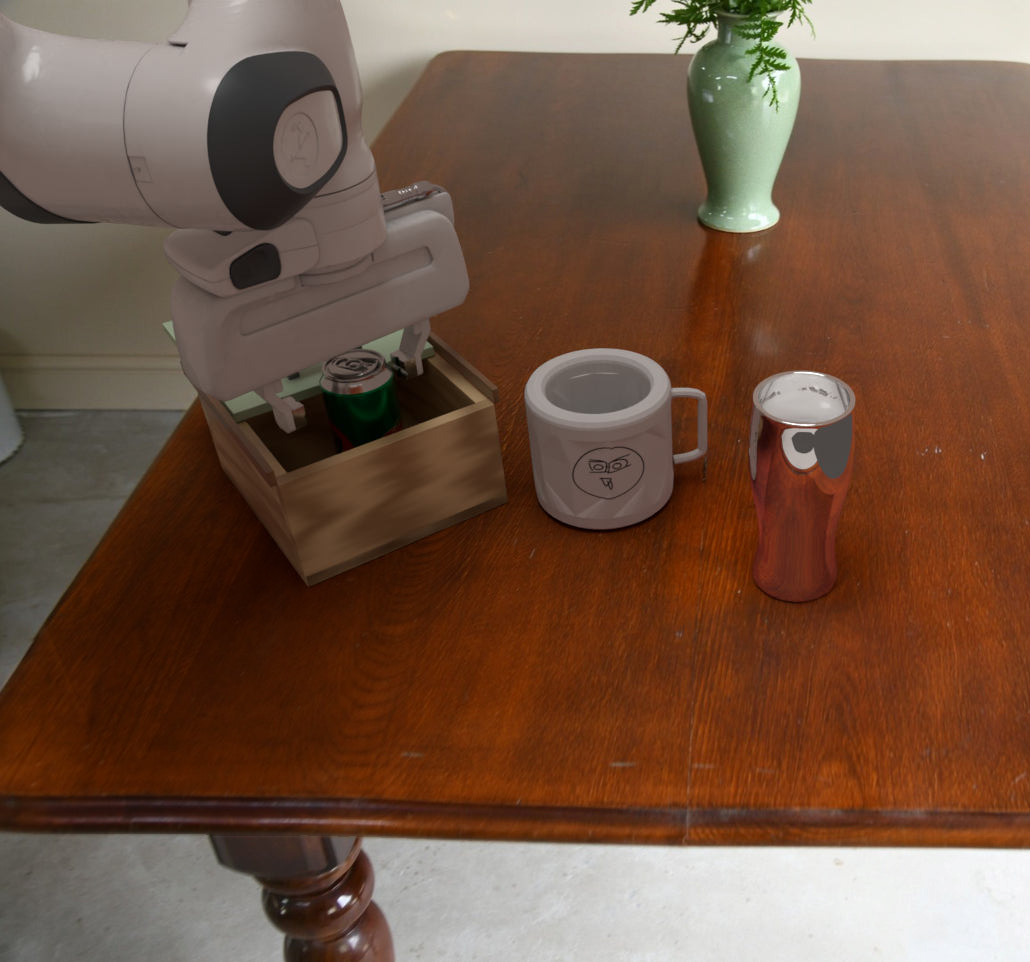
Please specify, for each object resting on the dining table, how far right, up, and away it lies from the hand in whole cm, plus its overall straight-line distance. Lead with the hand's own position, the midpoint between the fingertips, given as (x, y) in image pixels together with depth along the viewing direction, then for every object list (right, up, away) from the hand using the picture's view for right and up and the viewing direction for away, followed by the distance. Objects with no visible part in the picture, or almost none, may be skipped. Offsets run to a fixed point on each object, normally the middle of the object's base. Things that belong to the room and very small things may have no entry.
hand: (353, 399), depth 80 cm
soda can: (+1, -7, +6) cm, 9 cm away
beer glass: (+32, -13, 0) cm, 34 cm away
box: (-2, -6, +9) cm, 11 cm away
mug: (+19, -6, +8) cm, 21 cm away
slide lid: (-7, +5, +8) cm, 12 cm away
